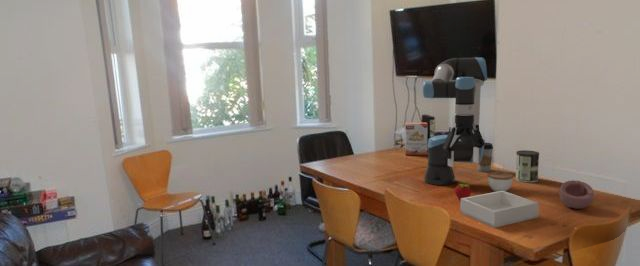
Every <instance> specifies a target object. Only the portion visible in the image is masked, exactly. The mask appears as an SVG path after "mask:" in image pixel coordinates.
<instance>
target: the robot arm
mask: <svg viewBox="0 0 640 266" xmlns="http://www.w3.org/2000/svg"><path fill="white" fill-rule="evenodd" d="M486 63H487V62H486V59H485V58H484V57H478V56H475V57H454V58H452V57H451V58H449V59H446V60H444V61H442V62H440V63H438V65H437V66H436V67H435V69H434V75H433V77H432V79H431V80H428V81H424V82H423V84H422V95H423V97H424V98H425V99H455V103H454V105H455V107H454V113H455V115H454V124H455V126H454V127H453V126H449V129H448V133H447V134H440V135H434V136H432V137H429V138H428V139H427V167H426V171H425V174H424V177H423V178H424V179H423V180H424V181H423V182H425V183H426V184H430V185H436V186H447V185H449V186H450V185H453V184H455V183H456V175H455V173H454V170H453V168H454V163H466V164H467V163H468V164H478V163H479V162H481V160H482V156H483V151H484V145H485V143H486V140H485V139H484V138H483V135H482V132H481V131H480V114H481V113H480V111H481V108H480V107H481V88H482V86H483V85H484V84H485V82H486V81H488V72H487V64H486Z"/></svg>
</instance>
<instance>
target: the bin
mask: <svg viewBox="0 0 640 266" xmlns="http://www.w3.org/2000/svg"><path fill="white" fill-rule="evenodd" d="M539 203H540V202H537V201H534V200H531V199H528V198H525V197H523V196H520V195H517V194H514V193H511V192H505V191H497V192H495V191H493V192H492V191H491V192H489V193H488V192H487V193H483V194H478V195H477V194H476V195H472V196H471V195H470V197H466V198H461V202H460V204H459V205H460V206H459V207H460V208H459V209H460V210H459V211H460V214H461V215H464V216H467V217H469V218H471V219H473V220H476V221H478V222H480V223H482V224H484V225H487V226H489V227H491V228H499V227H503V226H508V225H511V224H516V223H521V222H524V221H530V220H534V219H538V218H539V206H540V205H539Z"/></svg>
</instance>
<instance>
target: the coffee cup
mask: <svg viewBox="0 0 640 266" xmlns="http://www.w3.org/2000/svg"><path fill="white" fill-rule="evenodd" d="M493 149H494V145H493V143H491V142H485V145H484V151H483V156H482V160H481V162H479V163H477V170H478V172H481V173H490V172H491V169H492V167H491V166H492V159H493Z"/></svg>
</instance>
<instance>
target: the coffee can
mask: <svg viewBox="0 0 640 266" xmlns="http://www.w3.org/2000/svg"><path fill="white" fill-rule="evenodd" d="M539 158H540V152H538V151H535V150H525V149H524V150H518V151H516V159H515V160H516V161H515V163H516V164H515V180H516V181H518V182H522V183H537V182H538V181H539V161H540V160H539Z"/></svg>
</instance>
